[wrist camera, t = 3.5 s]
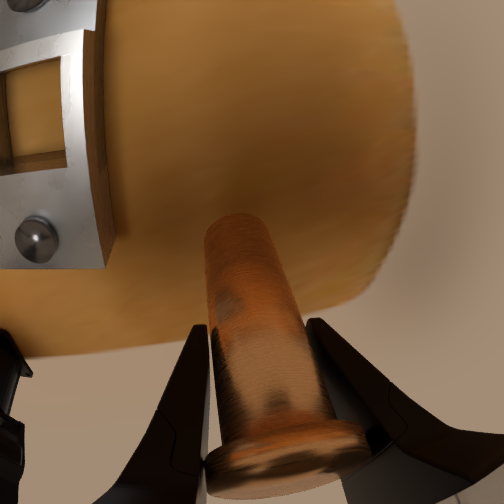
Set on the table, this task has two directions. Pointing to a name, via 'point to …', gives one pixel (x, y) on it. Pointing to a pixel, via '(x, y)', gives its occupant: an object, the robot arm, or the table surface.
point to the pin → (267, 376)
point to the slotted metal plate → (75, 135)
